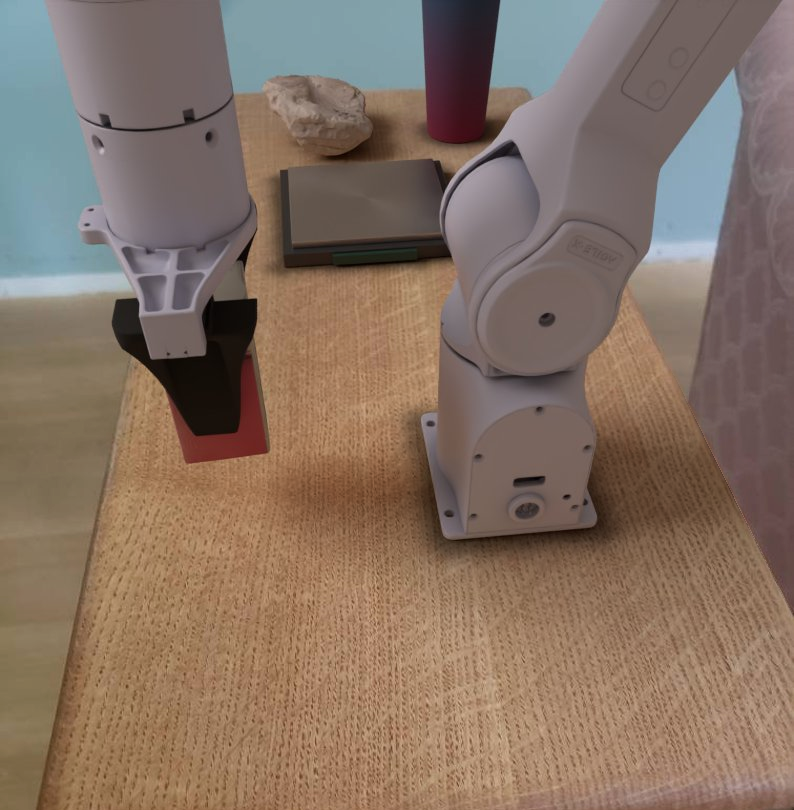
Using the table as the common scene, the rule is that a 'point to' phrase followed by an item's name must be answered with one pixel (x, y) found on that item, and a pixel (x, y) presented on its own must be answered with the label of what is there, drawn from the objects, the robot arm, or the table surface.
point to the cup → (458, 66)
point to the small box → (253, 413)
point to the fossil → (320, 112)
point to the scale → (362, 212)
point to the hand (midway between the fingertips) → (218, 390)
